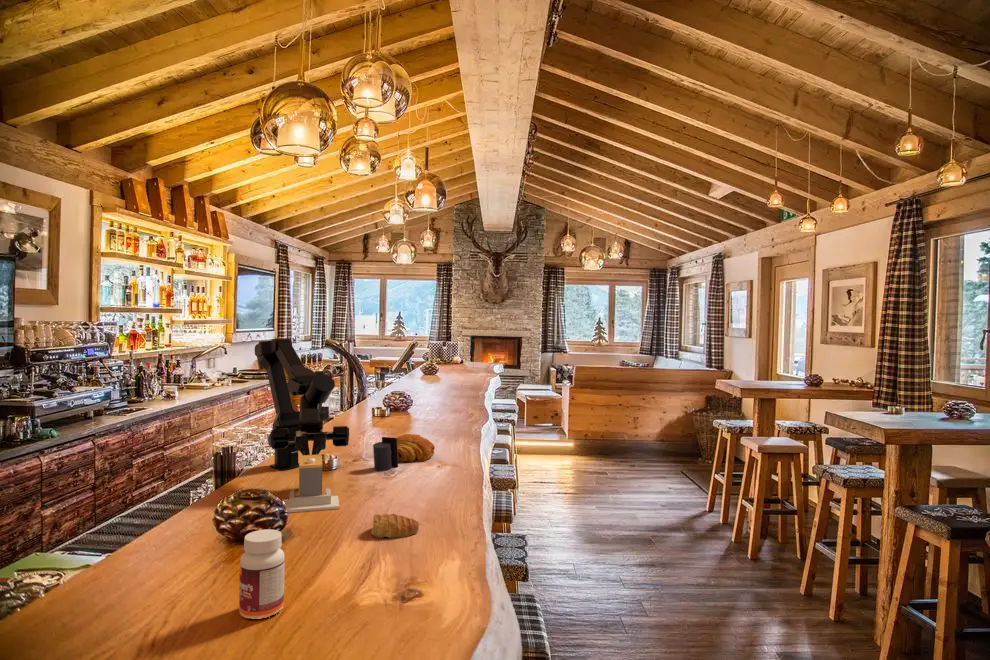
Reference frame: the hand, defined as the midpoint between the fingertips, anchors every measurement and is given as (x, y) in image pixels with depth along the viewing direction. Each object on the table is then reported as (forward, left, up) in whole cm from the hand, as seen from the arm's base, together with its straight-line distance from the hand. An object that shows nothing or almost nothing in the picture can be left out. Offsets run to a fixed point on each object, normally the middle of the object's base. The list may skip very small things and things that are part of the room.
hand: (310, 466), depth 144 cm
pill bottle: (+40, -42, -7) cm, 58 cm away
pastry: (+34, -7, -7) cm, 35 cm away
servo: (+4, -3, -7) cm, 8 cm away
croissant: (-5, +43, -7) cm, 44 cm away
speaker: (-1, +28, -7) cm, 29 cm away
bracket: (+7, -6, -7) cm, 11 cm away
